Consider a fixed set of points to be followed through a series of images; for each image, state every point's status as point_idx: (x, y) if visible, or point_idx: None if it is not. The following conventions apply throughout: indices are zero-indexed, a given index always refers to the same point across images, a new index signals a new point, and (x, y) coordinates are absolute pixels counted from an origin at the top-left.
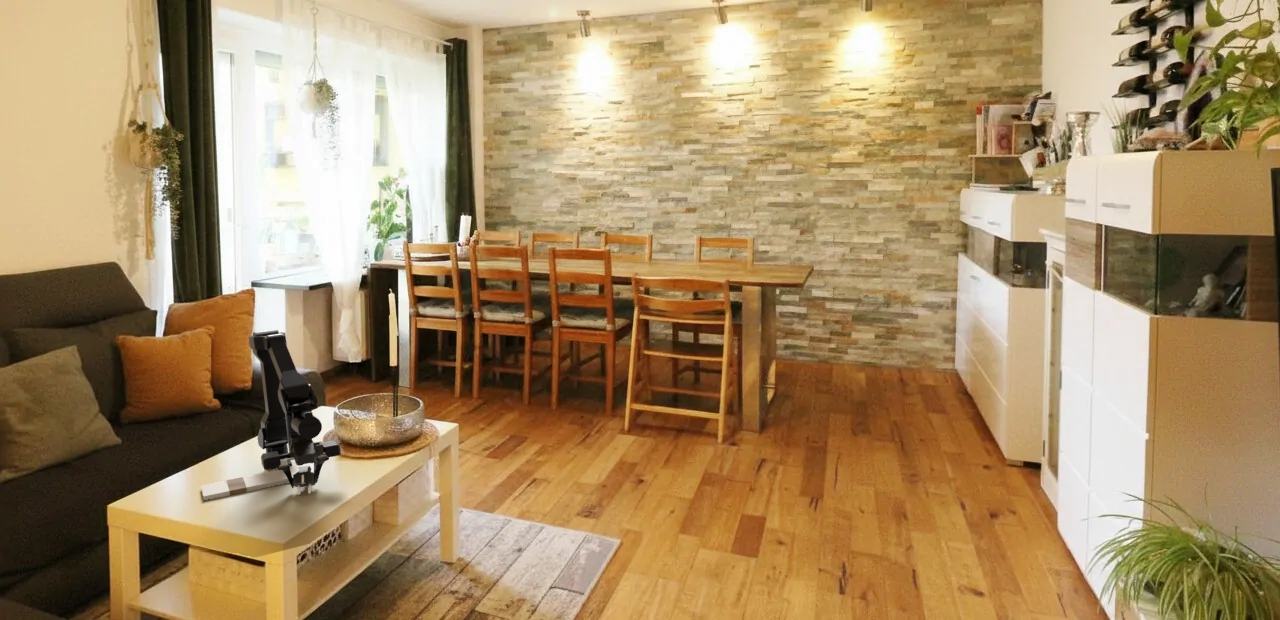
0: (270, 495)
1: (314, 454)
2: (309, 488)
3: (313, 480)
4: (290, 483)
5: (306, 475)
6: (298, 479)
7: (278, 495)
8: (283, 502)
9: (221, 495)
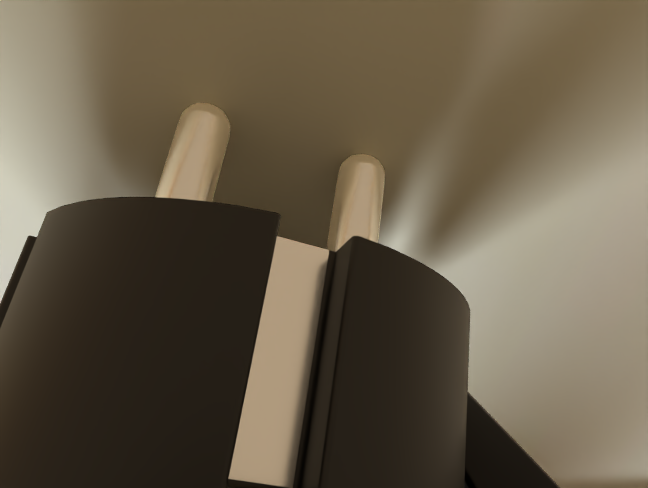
0: (615, 354)
1: None
2: (184, 178)
3: (31, 251)
4: (468, 394)
5: (160, 397)
6: (405, 340)
7: (557, 312)
8: (643, 31)
9: None
